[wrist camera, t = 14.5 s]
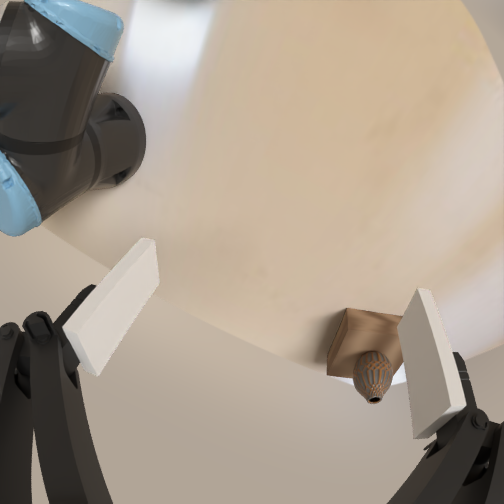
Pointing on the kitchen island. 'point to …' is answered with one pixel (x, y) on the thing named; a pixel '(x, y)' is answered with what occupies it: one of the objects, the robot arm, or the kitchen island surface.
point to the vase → (372, 376)
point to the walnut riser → (364, 341)
